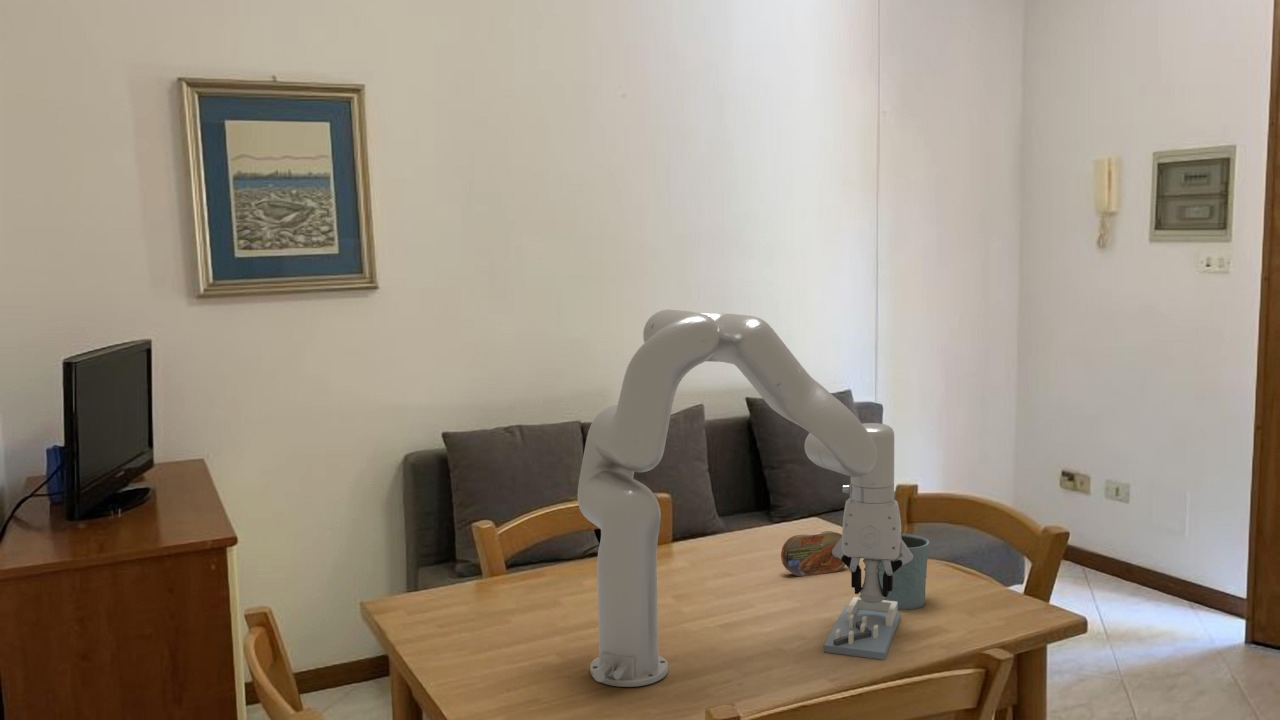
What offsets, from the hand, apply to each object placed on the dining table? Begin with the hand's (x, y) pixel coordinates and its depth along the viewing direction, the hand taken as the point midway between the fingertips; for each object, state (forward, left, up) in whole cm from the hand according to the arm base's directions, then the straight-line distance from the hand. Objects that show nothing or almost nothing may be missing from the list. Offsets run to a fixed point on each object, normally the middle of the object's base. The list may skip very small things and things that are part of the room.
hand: (871, 592), depth 185 cm
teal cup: (+13, -3, -6) cm, 15 cm away
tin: (+25, +16, -6) cm, 30 cm away
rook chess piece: (0, 0, -2) cm, 2 cm away
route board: (-6, +1, -6) cm, 8 cm away
